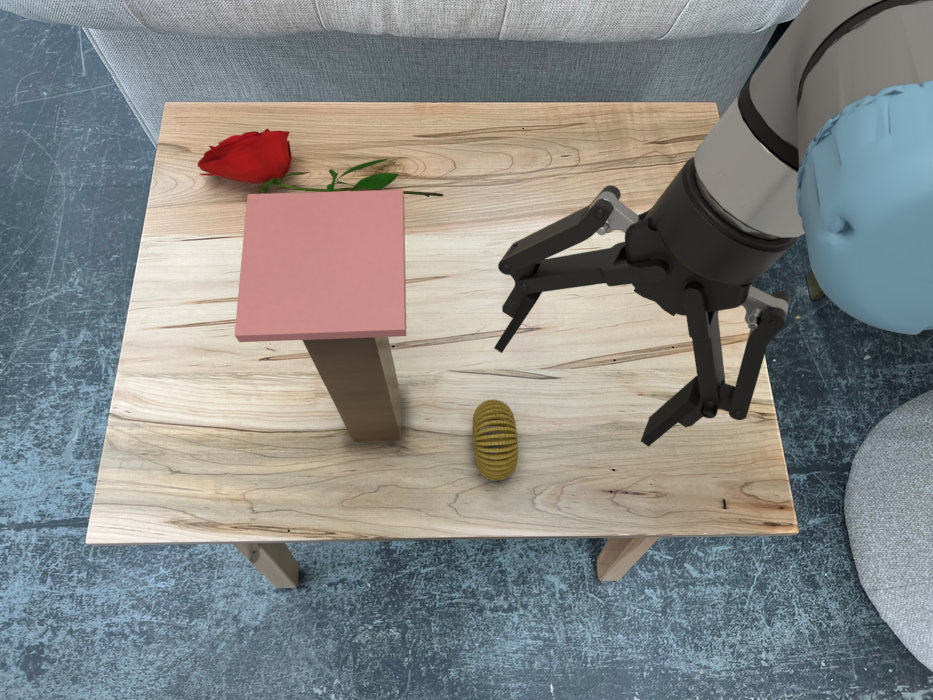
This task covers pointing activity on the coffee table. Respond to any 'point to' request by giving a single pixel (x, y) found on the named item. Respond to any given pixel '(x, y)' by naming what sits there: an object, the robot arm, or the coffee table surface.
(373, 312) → the rose shelf
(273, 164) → the flower
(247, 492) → the coffee table surface
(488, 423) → the sculpture
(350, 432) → the stand post
